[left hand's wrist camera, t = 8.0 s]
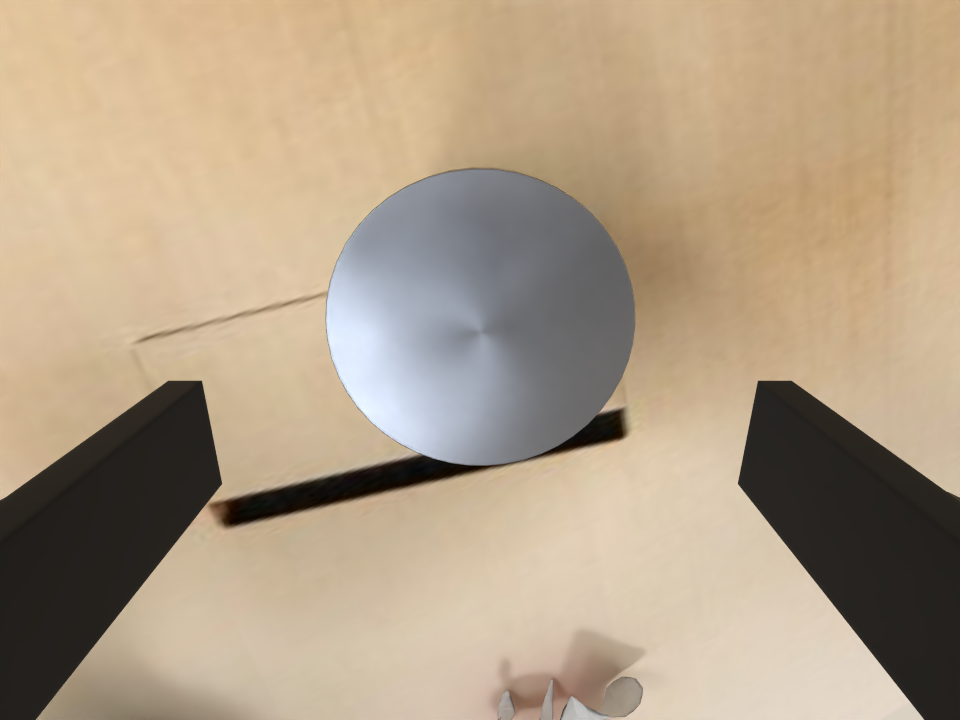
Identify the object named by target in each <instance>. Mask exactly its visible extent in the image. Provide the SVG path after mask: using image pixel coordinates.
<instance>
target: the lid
mask: <svg viewBox="0 0 960 720" xmlns="http://www.w3.org/2000/svg"><path fill="white" fill-rule="evenodd" d="M634 329H635V303H634V296H633V290H632V284H631V281H630V278H629V274H628V271H627V268H626V265H625V263H624V261H623V258H622V256H621V254H620V252H619V250H618V248H617V246H616V244H615V243H614V241H613V240H612V238H611V237H610V235H609V234H608V232H607V231H606V229H605V228H604V227H603V226H602V225H601V223H600V222H599V221H598V220H597V219H596V218H595V217H594V215H593V214H592V213H591V212H589V211H588V210H587V209H586V208H585V207H584V206H582V205H581V204H580V203H579V202H578V201H577V200H575V199H574V198H572V197H571V196H569V195H568V194H566V193H565V192H563V191H562V190H560V189H558V188H557V187H554V186H552V185H550V184H548V183H546V182H544V181H541V180H539V179H537V178H534V177H532V176H528V175H525V174H522V173H518V172H515V171H511V170H504V169H498V168H478V167H472V168H464V169H456V170H450V171H446V172H443V173H439V174H435V175H432V176H429V177H427V178H424V179H422V180H420V181H417V182H415V183H413V184H410V185H408V186H406V187H405V188H403V189H401V190H400V191H398V192H396V193H395V194H393V195H391V196H390V197H388V198H387V199H386V200H385V201H383V202H382V203H381V204H380V205H378V206H377V207H376V208H375V209H373V210H372V211H371V212H370V213H369V215H368V216H367V217H366V218H365V219H364V220H363V221H362V222H361V223H360V224H359V225H358V226H357V228H356V229H355V231H354V232H353V234H352V235H351V237H350V238H349V239H348V241H347V242H346V244H345V246H344V248H343V250H342V252H341V254H340V256H339V258H338V260H337V262H336V265H335V268H334V271H333V274H332V277H331V280H330V284H329V290H328V295H327V300H326V331H327V340H328V345H329V349H330V353H331V358H332V361H333V363H334V366H335V369H336V371H337V374H338V376H339V378H340V380H341V382H342V384H343V386H344V388H345V390H346V391H347V393H348V395H349V396H350V397H351V399H352V400H353V402H354V403H355V404H356V406H357V407H358V409H359V410H360V411H361V412H362V413H363V414H364V415H365V416H366V417H367V418H368V420H369V421H370V422H371V423H373V424H374V425H375V426H376V427H377V428H378V429H380V430H381V431H382V432H383V433H384V434H386V435H387V436H389V437H390V438H392V439H393V440H395V441H396V442H398V443H399V444H401V445H403V446H405V447H407V448H409V449H411V450H413V451H415V452H417V453H420V454H422V455H425V456H428V457H430V458H433V459H437V460H441V461H445V462H449V463H456V464H464V465H497V464H506V463H511V462H515V461H520V460H524V459H527V458H530V457H533V456H536V455H539V454H542V453H544V452H546V451H548V450H550V449H552V448H554V447H556V446H558V445H560V444H561V443H563V442H564V441H566V440H568V439H569V438H571V437H572V436H574V435H575V434H576V433H577V432H579V431H580V430H581V429H582V428H584V427H585V426H586V425H587V424H588V423H589V422H590V421H591V420H592V419H593V418H594V417H595V416H596V415H597V414H598V413H599V412H600V411H601V409H602V408H603V407H604V405H605V404H606V403H607V401H608V400H609V399H610V397H611V396H612V394H613V392H614V391H615V389H616V387H617V385H618V384H619V382H620V380H621V378H622V375H623V373H624V371H625V368H626V366H627V363H628V360H629V356H630V352H631V348H632V345H633V338H634Z"/></svg>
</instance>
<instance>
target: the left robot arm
mask: <svg viewBox="0 0 960 720" xmlns="http://www.w3.org/2000/svg"><path fill="white" fill-rule="evenodd" d="M221 485H222V481H221V476H220V471H219V466H218V460H217V455H216V450H215V445H214V440H213V435H212V430H211V425H210V420H209V415H208V409H207V404H206V399H205V394H204V389H203V384H202V381H168V382H166V383H165V384H163V385H162V386H161V387H159V388H158V389H156V390H155V391H154V392H152V393H151V394H149V395H148V396H147V397H145V398H144V399H142V400H141V401H140V402H138V403H137V404H135V405H134V406H133V407H131V408H130V409H128V410H127V411H126V412H124V413H123V414H121V415H120V416H119V417H117V418H116V419H114V420H113V421H112V422H110V423H109V424H108V425H106V426H105V427H103V428H102V429H101V430H99V431H98V432H96V433H95V434H94V435H92V436H91V437H89V438H88V439H87V440H85V441H84V442H82V443H81V444H80V445H78V446H77V447H75V448H74V449H73V450H71V451H70V452H68V453H67V454H66V455H64V456H63V457H61V458H60V459H59V460H57V461H56V462H54V463H53V464H52V465H50V466H49V467H48V468H46V469H45V470H43V471H42V472H41V473H39V474H38V475H36V476H35V477H34V478H32V479H31V480H29V481H28V482H27V483H25V484H24V485H22V486H21V487H20V488H18V489H17V490H15V491H14V492H13V493H11V494H10V495H8V496H7V497H6V498H4V499H2V500H0V720H36V719H37V717H38V716H39V715H40V713H41V712H42V711H43V710H44V708H45V707H46V706H47V705H48V703H49V702H50V701H51V700H52V698H53V697H54V696H55V695H56V693H57V692H58V691H59V689H60V688H61V687H62V686H63V684H64V683H65V682H66V681H67V679H68V678H69V677H70V676H71V674H72V673H73V672H74V670H75V669H76V668H77V667H78V665H79V664H80V663H81V662H82V660H83V659H84V658H85V657H86V655H87V654H88V653H89V652H90V650H91V649H92V648H93V646H94V645H95V644H96V643H97V641H98V640H99V639H100V638H101V636H102V635H103V634H104V633H105V631H106V630H107V629H108V627H109V626H110V625H111V624H112V622H113V621H114V620H115V619H116V617H117V616H118V615H119V614H120V612H121V611H122V610H123V609H124V607H125V606H126V605H127V603H128V602H129V601H130V600H131V598H132V597H133V596H134V595H135V593H136V592H137V591H138V590H139V588H140V587H141V586H142V584H143V583H144V582H145V581H146V579H147V578H148V577H149V576H150V574H151V573H152V572H153V571H154V569H155V568H156V567H157V566H158V564H159V563H160V562H161V560H162V559H163V558H164V557H165V555H166V554H167V553H168V552H169V550H170V549H171V548H172V547H173V545H174V544H175V543H176V541H177V540H178V539H179V538H180V536H181V535H182V534H183V533H184V531H185V530H186V529H187V528H188V526H189V525H190V524H191V522H192V521H193V520H194V519H195V517H196V516H197V515H198V514H199V512H200V511H201V510H202V509H203V507H204V506H205V505H206V504H207V502H208V501H209V500H210V498H211V497H212V496H213V495H214V493H215V492H216V491H217V490H218V488H219V487H220V486H221ZM738 485H739V486H740V487H741V488H742V490H743V491H744V492H745V493H746V495H747V496H748V497H749V498H750V500H751V501H752V502H753V504H754V505H755V506H756V507H757V509H758V510H759V511H760V512H761V514H762V515H763V516H764V517H765V519H766V520H767V521H768V522H769V524H770V525H771V526H772V528H773V529H774V530H775V531H776V533H777V534H778V535H779V536H780V538H781V539H782V540H783V541H784V543H785V544H786V545H787V547H788V548H789V549H790V550H791V552H792V553H793V554H794V555H795V557H796V558H797V559H798V560H799V562H800V563H801V564H802V566H803V567H804V568H805V569H806V571H807V572H808V573H809V574H810V576H811V577H812V578H813V579H814V581H815V582H816V583H817V584H818V586H819V587H820V588H821V590H822V591H823V592H824V593H825V595H826V596H827V597H828V598H829V600H830V601H831V602H832V603H833V605H834V606H835V607H836V609H837V610H838V611H839V612H840V614H841V615H842V616H843V617H844V619H845V620H846V621H847V622H848V624H849V625H850V626H851V627H852V629H853V630H854V631H855V633H856V634H857V635H858V636H859V638H860V639H861V640H862V641H863V643H864V644H865V645H866V646H867V648H868V649H869V650H870V652H871V653H872V654H873V655H874V657H875V658H876V659H877V660H878V662H879V663H880V664H881V665H882V667H883V668H884V669H885V670H886V672H887V673H888V674H889V676H890V677H891V678H892V679H893V681H894V682H895V683H896V684H897V686H898V687H899V688H900V689H901V691H902V692H903V693H904V695H905V696H906V697H907V698H908V700H909V701H910V702H911V703H912V705H913V706H914V707H915V708H916V710H917V711H918V712H919V713H920V715H921V716H922V717H923V719H924V720H960V498H959V497H957V496H955V495H953V494H951V493H949V492H946V491H945V490H943V489H942V488H940V487H939V486H938V485H936V484H935V483H933V482H932V481H931V480H929V479H928V478H926V477H925V476H924V475H922V474H921V473H919V472H918V471H917V470H915V469H914V468H912V467H911V466H910V465H908V464H907V463H906V462H904V461H903V460H901V459H900V458H899V457H897V456H896V455H894V454H893V453H892V452H890V451H889V450H887V449H886V448H885V447H883V446H882V445H880V444H879V443H878V442H876V441H875V440H873V439H872V438H871V437H869V436H868V435H866V434H865V433H864V432H862V431H861V430H859V429H858V428H857V427H855V426H854V425H852V424H851V423H850V422H848V421H847V420H846V419H844V418H843V417H841V416H840V415H839V414H837V413H836V412H834V411H833V410H832V409H830V408H829V407H827V406H826V405H825V404H823V403H822V402H820V401H819V400H818V399H816V398H815V397H813V396H812V395H811V394H809V393H808V392H806V391H805V390H804V389H802V388H801V387H799V386H798V385H797V384H795V383H794V382H792V381H758V384H757V389H756V394H755V399H754V404H753V409H752V415H751V420H750V425H749V430H748V435H747V440H746V445H745V450H744V455H743V460H742V466H741V471H740V476H739V481H738Z"/></svg>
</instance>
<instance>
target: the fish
mask: <svg viewBox="0 0 960 720" xmlns="http://www.w3.org/2000/svg"><path fill="white" fill-rule="evenodd" d="M642 692H643V688H642V686H641V685H640V683H639V682H638V681H637V679H635V678H631V677H621V678H619V679H617V680H615V681H614V682H613V683H612V684H610V685H609V686H608V687H607V688H606V693H605V697H604V700H603V703H602V705H601V707H600V708H599V709H598V710H597V712H596V711H594V710H592V709H590V708H588V707H586V706H584V705H583V704H582V703H580V702H579V701H578V700H577V699H575V698H574V697H573V696H571V698H570V699H569V701H568V703H567V704H566V706H565V708H564V709H563V712H562V715H561V719H560V720H605V719H607V718H613V717H626V716H627V715H629V714H630V713H631V712H633V711H634V710H635V709H636V708H637V707H638V706H639V704H640V702H641V698H642ZM514 713H515V708H514V705H513V702H512V700H511V696H510V693H509V691H505V692H504V694H503V696H502V698H501V701H500V704H499V707H498V720H512V719H513V716H514ZM539 720H553V680H552V679H551V682H550V685H549V688H548V690H547V693H546V696H545V699H544V703H543V707H542V712H541V715H540V719H539Z"/></svg>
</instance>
